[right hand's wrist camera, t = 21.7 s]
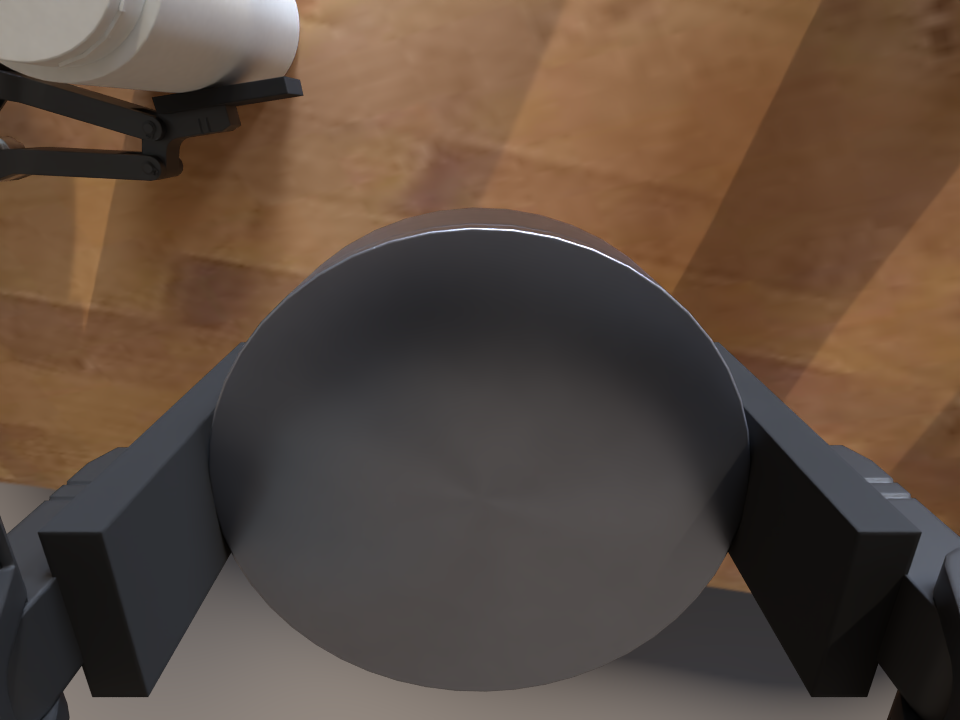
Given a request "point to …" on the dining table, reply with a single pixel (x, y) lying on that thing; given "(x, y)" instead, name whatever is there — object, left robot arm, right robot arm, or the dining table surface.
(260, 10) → the jar
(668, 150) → the dining table surface
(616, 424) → the lid
